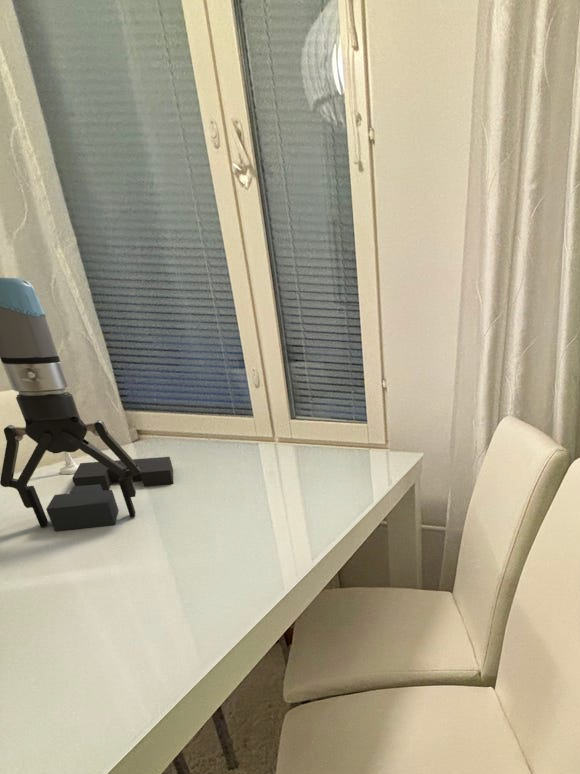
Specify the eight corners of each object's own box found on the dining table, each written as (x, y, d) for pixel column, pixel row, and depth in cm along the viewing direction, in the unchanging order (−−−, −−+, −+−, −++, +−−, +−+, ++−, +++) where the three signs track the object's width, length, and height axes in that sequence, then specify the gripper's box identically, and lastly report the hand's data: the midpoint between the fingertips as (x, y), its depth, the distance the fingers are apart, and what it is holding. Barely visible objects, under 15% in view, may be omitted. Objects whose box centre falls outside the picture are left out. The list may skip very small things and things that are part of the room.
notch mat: (77, 492, 114) (71, 478, 112) (85, 476, 124) (80, 463, 123) (173, 483, 120) (169, 470, 119) (173, 469, 131) (169, 456, 130)
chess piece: (66, 475, 125) (49, 429, 120) (56, 472, 127) (39, 426, 122) (89, 471, 128) (74, 426, 123) (79, 468, 131) (63, 423, 125)
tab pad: (54, 531, 94) (45, 508, 92) (66, 508, 104) (58, 487, 102) (115, 524, 97) (107, 502, 95) (120, 503, 108) (113, 482, 106)
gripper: (-64, 398, 80) (0, 536, 91) (130, 391, 90) (166, 516, 101) (-48, 392, 86) (10, 522, 97) (132, 386, 96) (166, 505, 107)
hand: (90, 519), depth 99 cm, fingers open, 13 cm apart
